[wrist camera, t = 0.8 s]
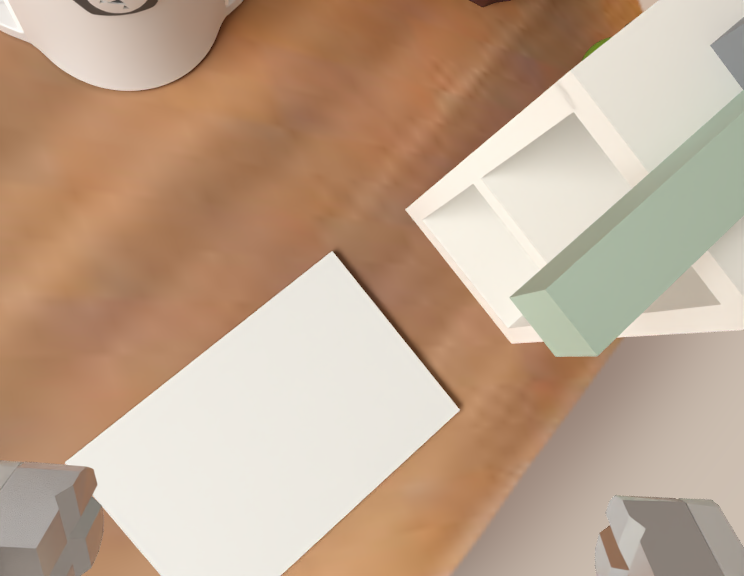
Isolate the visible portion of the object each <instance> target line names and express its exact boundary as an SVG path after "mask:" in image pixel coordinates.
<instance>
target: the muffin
mask: <svg viewBox="0 0 744 576" xmlns="http://www.w3.org/2000/svg"><path fill="white" fill-rule="evenodd" d="M470 1H471V2H473V3H475V4H477V5H479V6H481V7H485V6H487V5H490V4H493V3H496V2H503V1H510V0H470Z"/></svg>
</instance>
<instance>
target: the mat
mask: <svg viewBox="0 0 744 576" xmlns="http://www.w3.org/2000/svg"><path fill="white" fill-rule="evenodd" d="M459 410H460V409H459V408H458V407H457V406H456V404H455V403H454V402H453V401H452V400H451V398H450V397H449V396H448V395H447V393H446V392H445V391H444V390H443V388H442V387H441V386H440V385H439V383H438V382H437V381H436V380H435V378H434V377H433V376H432V375H431V373H430V372H429V371H428V370H427V368H426V367H425V366H424V365H423V363H422V362H421V361H420V360H419V358H418V357H417V356H416V355H415V353H414V352H413V351H412V350H411V348H410V347H409V346H408V345H407V343H406V342H405V341H404V340H403V338H402V337H401V336H400V335H399V334H398V332H397V331H396V330H395V329H394V327H393V326H392V325H391V324H390V322H389V321H388V320H387V319H386V317H385V316H384V315H383V314H382V312H381V311H380V310H379V309H378V307H377V306H376V305H375V304H374V302H373V301H372V300H371V299H370V297H369V296H368V295H367V294H366V292H365V291H364V290H363V289H362V287H361V286H360V285H359V284H358V282H357V281H356V280H355V279H354V277H353V276H352V275H351V274H350V273H349V271H348V270H347V269H346V268H345V266H344V265H343V264H342V263H341V261H340V260H339V259H338V258H337V256H336V255H335V254H334V253H333V251H332V252H330V253H329V254H328V255H327V256H325V257H324V258H323V259H321V260H320V261H319V262H318V263H316V264H315V265H314V266H313V267H311V268H310V269H309V270H308V271H306V272H305V273H304V274H302V275H301V276H300V277H299V278H297V279H296V280H295V281H294V282H292V283H291V284H290V285H289V286H287V287H286V288H285V289H284V290H282V291H281V292H280V293H278V294H277V295H276V296H275V297H273V298H272V299H271V300H270V301H268V302H267V303H266V304H265V305H263V306H262V307H261V308H259V309H258V310H257V311H256V312H254V313H253V314H252V315H251V316H249V317H248V318H247V319H246V320H244V321H243V322H242V323H240V324H239V325H238V326H237V327H235V328H234V329H233V330H232V331H230V332H229V333H228V334H227V335H225V336H224V337H223V338H222V339H220V340H219V341H218V342H216V343H215V344H214V345H213V346H211V347H210V348H209V349H208V350H206V351H205V352H204V353H203V354H201V355H200V356H199V357H197V358H196V359H195V360H194V361H192V362H191V363H190V364H189V365H187V366H186V367H185V368H184V369H182V370H181V371H180V372H179V373H177V374H176V375H175V376H173V377H172V378H171V379H170V380H168V381H167V382H166V383H165V384H163V385H162V386H161V387H160V388H158V389H157V390H156V391H154V392H153V393H152V394H151V395H149V396H148V397H147V398H146V399H144V400H143V401H142V402H141V403H139V404H138V405H137V406H135V407H134V408H133V409H132V410H130V411H129V412H128V413H127V414H125V415H124V416H123V417H122V418H120V419H119V420H118V421H117V422H115V423H114V424H113V425H111V426H110V427H109V428H108V429H106V430H105V431H104V432H103V433H101V434H100V435H99V436H98V437H96V438H95V439H94V440H92V441H91V442H90V443H89V444H87V445H86V446H85V447H84V448H82V449H81V450H80V451H79V452H77V453H76V454H75V455H74V456H72V457H71V458H70V459H68V460H67V461H66V462H65V463H66V464H67V465H74V466H86V467H90V468H92V469H94V472H95V476H96V480H97V484H98V485H97V487H96V489H95V491H94V493H93V496H94V497H95V498H96V500H97V501H98V502H99V503H100V504H101V505H102V507H103V508H104V509H105V510H106V511H107V513H108V514H109V515H110V516H111V517H112V518H113V520H114V521H115V522H116V523H117V524H118V526H119V527H120V528H121V529H122V530H123V531H124V533H125V534H126V535H127V536H128V537H129V538H130V540H131V541H132V542H133V543H134V544H135V546H136V547H137V548H138V549H139V550H140V551H141V553H142V554H143V555H144V556H145V557H146V558H147V560H148V561H149V562H150V563H151V564H152V566H153V567H154V568H155V569H156V570H157V571H158V573H159V574H160V575H161V576H281V575H282V574H283V573H284V572H285V571H286V570H287V569H288V568H289V567H290V566H291V565H293V564H294V563H295V562H296V561H297V560H298V559H299V558H300V557H301V556H302V555H303V554H304V553H306V552H307V551H308V550H309V549H310V548H311V547H312V546H313V545H314V544H315V543H316V542H317V541H319V540H320V539H321V538H322V537H323V536H324V535H325V534H326V533H327V532H328V531H329V530H330V529H332V528H333V527H334V526H335V525H336V524H337V523H338V522H339V521H340V520H341V519H342V518H343V517H345V516H346V515H347V514H348V513H349V512H350V511H351V510H352V509H353V508H354V507H355V506H356V505H358V504H359V503H360V502H361V501H362V500H363V499H364V498H365V497H366V496H367V495H368V494H369V493H371V492H372V491H373V490H374V489H375V488H376V487H377V486H378V485H379V484H380V483H381V482H382V481H384V480H385V479H386V478H387V477H388V476H389V475H390V474H391V473H392V472H393V471H394V470H396V469H397V468H398V467H399V466H400V465H401V464H402V463H403V462H404V461H405V460H406V459H407V458H409V457H410V456H411V455H412V454H413V453H414V452H415V451H416V450H417V449H418V448H419V447H420V446H422V445H423V444H424V443H425V442H426V441H427V440H428V439H429V438H430V437H431V436H432V435H433V434H435V433H436V432H437V431H438V430H439V429H440V428H441V427H442V426H443V425H444V424H445V423H446V422H448V421H449V420H450V419H451V418H452V417H453V416H454V415H455V414H456V413H457V412H458V411H459Z"/></svg>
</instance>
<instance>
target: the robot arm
mask: <svg viewBox="0 0 744 576" xmlns="http://www.w3.org/2000/svg"><path fill="white" fill-rule="evenodd" d="M242 1H243V0H0V30H1V31H3V32H5V33H7V34H9V35H11V36H14V37H16V38H19V39H21V40H24V41H27V42H29V43H31V44H32V45H34V46H35V47H36V48H38V49H39V50H40V51H41V52H42V53H43V54H44V55H46V56H47V57H48V58H49V59H50V60H51V61H52V62H53V63H54V64H56V65H57V66H58V67H59V68H61V69H62V70H64V71H65V72H67V73H68V74H70V75H72V76H73V77H75V78H77V79H79V80H82V81H84V82H86V83H89V84H92V85H95V86H98V87H102V88H107V89H112V90H122V91H137V90H146V89H151V88H156V87H159V86H162V85H165V84H168V83H170V82H173V81H175V80H177V79H179V78H180V77H182V76H184V75H185V74H187V73H188V72H189V71H191V70H192V69H193V68H194V67H196V66H197V65H198V64H199V63H200V62H201V61H202V59H203V58H204V57H205V56H206V54H207V53H208V52H209V50H210V48H211V47H212V45H213V43H214V41H215V39H216V36H217V34H218V31H219V29H220V26H221V24H222V22H223V20H224V19H225V17H226V16H227V15H228V14H230V13H231V12H232V11H233V10H234V9H235V8H236V7H238V6H239V5H240V4H241V2H242ZM97 485H98V484H97V480H96V476H95V472H94V469H92V468H90V467H86V466H74V465H61V464H49V463H37V462H16V461H4V460H0V576H81V575H82V574H84V573H85V572H86V571H88V570H89V569H90V568H92V565H93V563H94V561H95V559H96V556H97V554H98V552H99V549H100V545H101V540H102V536H103V532H104V515H103V510H102V505H101V504H99V503H98V502H97V501H96V500H95V499H94V498H93V497H92V495H93V493H94V491H95V489H96V487H97ZM606 515H607V518H608V520H609V523H610V526H608V527H607V528H606V529H604V530H603V531H602V532H600V533H599V536H598V540H597V544H596V548H595V569H596V574H597V576H744V547H743V545H742V544H741V542H740V540H739V539H738V537H737V535H736V534H735V532H734V530H733V529H732V527H731V525H730V524H729V522H728V520H727V519H726V517H725V515H724V513H723V512H722V510H721V508H720V507H719V505H718V504H716V503H715V502H714V501H713V500H705V499H683V498H679V499H676V498H659V497H638V496H616V495H615V496H614V497H613V498H612V499H611V500H610V502H609V504H608V508H607V510H606Z"/></svg>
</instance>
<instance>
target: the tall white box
mask: <svg viewBox="0 0 744 576" xmlns="http://www.w3.org/2000/svg"><path fill="white" fill-rule="evenodd" d="M743 17H744V0H659V1H657V2H656V3H654V4H653V5H652V6H651V7H650V8H648V9H647V10H646V11H644V12H643V13H642V14H641V15H639V16H638V17H637V18H636V19H634V20H633V21H632V22H631V23H629V24H628V25H627V26H626V27H624V28H623V29H622V30H620V31H619V32H618V33H617V34H615V35H614V36H613V37H612V38H610V39H609V40H608V41H607V42H605V43H604V44H603V45H602V46H600V47H599V48H598V49H597V50H595V51H594V52H593V53H592V54H590V55H589V56H588V57H587V58H585V59H584V60H583V61H581V62H580V63H579V64H578V65H576V66H575V67H574V68H573V69H571V70H570V71H569V72H568V73H567V74H565V75H564V76H563V77H562V78H561V79H559V80H558V81H557V82H556V83H555V84H554V85H552V86H551V87H550V88H549V89H548V90H546V91H545V92H544V93H543V94H542V95H540V96H539V97H538V98H537V99H536V100H535V101H533V102H532V103H531V104H530V105H529V106H527V107H526V108H525V109H524V110H523V111H522V112H520V113H519V114H518V115H517V116H516V117H514V118H513V119H512V120H511V121H510V122H508V123H507V124H506V125H505V126H504V127H503V128H501V129H500V130H499V131H498V132H497V133H495V134H494V135H493V136H492V137H491V138H489V139H488V140H487V141H486V142H485V143H484V144H482V145H481V146H480V147H479V148H478V149H476V150H475V151H474V152H473V153H472V154H470V155H469V156H468V157H467V158H466V159H465V160H463V161H462V162H461V163H460V164H459V165H457V166H456V167H455V168H454V169H453V170H451V171H450V172H449V173H448V174H447V175H446V176H444V177H443V178H442V179H441V180H440V181H438V182H437V183H436V184H435V185H434V186H432V187H431V188H430V189H429V190H428V191H427V192H425V193H424V194H423V195H422V196H421V197H419V198H418V199H417V200H416V201H415V202H413V203H412V204H411V205H410V206H409V207H408V208H406V209H405V210H406V211H407V212H408V214H409V215H410V216H411V217H412V219H413V220H414V221H415V222H416V224H417V225H418V226H419V227H420V229H421V230H422V231H423V233H424V234H425V235H426V236H427V238H428V239H429V240H430V241H431V243H432V244H433V245H434V246H435V248H436V249H437V250H438V251H439V253H440V254H441V255H442V257H443V258H444V259H445V260H446V262H447V263H448V264H449V265H450V267H451V268H452V269H453V270H454V272H455V273H456V274H457V275H458V277H459V278H460V279H461V281H462V282H463V283H464V284H465V286H466V287H467V288H468V289H469V291H470V292H471V293H472V294H473V296H474V297H475V298H476V299H477V301H478V302H479V303H480V305H481V306H482V307H483V308H484V310H485V311H486V312H487V313H488V315H489V316H490V317H491V318H492V320H493V321H494V322H495V323H496V325H497V326H498V327H499V328H500V330H501V331H502V332H503V334H504V335H505V336H506V337H507V339H508V340H509V341H510V342H511V343H529V342H544V341H543V340H542V339H541V338H540V336H539V335H538V334H537V332H536V331H535V330H534V329H533V327H532V326H531V325H530V324H529V322H528V321H527V320H526V318H525V317H524V316H523V315H522V313H521V312H520V311H519V310H518V308H517V307H516V306H515V305H514V303H513V302H512V301H511V299H510V298H509V297H510V296H512V295H513V294H514V293H515V292H516V291H517V290H518V289H519V288H521V287H522V286H523V285H524V284H525V283H526V282H527V281H528V280H530V279H531V278H532V277H533V276H534V275H535V274H536V273H537V272H539V271H540V270H541V269H542V268H543V267H544V266H545V265H547V264H548V263H549V262H550V261H551V260H552V259H553V258H554V257H556V256H557V255H558V254H559V253H560V252H561V251H562V250H563V249H565V248H566V247H567V246H568V245H569V244H570V243H571V242H572V241H574V240H575V239H576V238H577V237H578V236H579V235H580V234H581V233H583V232H584V231H585V230H586V229H587V228H588V227H589V226H590V225H592V224H593V223H594V222H595V221H596V220H597V219H598V218H599V217H601V216H602V215H603V214H604V213H605V212H606V211H607V210H608V209H610V208H611V207H612V206H613V205H614V204H615V203H616V202H617V201H619V200H620V199H621V198H622V197H623V196H624V195H625V194H627V193H628V192H629V191H630V190H631V189H632V188H633V187H634V186H636V185H637V184H638V183H639V182H640V181H641V180H642V179H643V178H645V177H646V176H647V175H648V174H649V173H650V172H651V171H652V170H654V169H655V168H656V167H657V166H658V165H659V164H660V163H661V162H663V161H664V160H665V159H666V158H667V157H668V156H669V155H670V154H672V153H673V152H674V151H675V150H676V149H677V148H678V147H679V146H681V145H682V144H683V143H684V142H685V141H686V140H687V139H688V138H690V137H691V136H692V135H693V134H694V133H695V132H696V131H697V130H699V129H700V128H701V127H702V126H703V125H704V124H705V123H707V122H708V121H709V120H710V119H711V118H712V117H713V116H714V115H716V114H717V113H718V112H719V111H720V110H721V109H722V108H723V107H725V106H726V105H727V104H728V103H729V102H730V101H731V100H732V99H734V98H735V97H736V96H737V95H738V94H739V93H740V92H741V91H743V89H742V88H741V86H740V85H739V84H738V82H737V81H736V80H735V78H734V77H733V76H732V74H731V73H730V72H729V70H728V69H727V68H726V66H725V65H724V64H723V62H722V61H721V60H720V58H719V57H718V56H717V54H716V53H715V52H714V50H713V49H712V47H711V46H710V45H711V44H712V43H713V42H715V41H716V40H717V39H718V38H719V37H720V36H722V35H723V34H724V33H725V32H726V31H728V30H729V29H730V28H731V27H732V26H734V25H735V24H736V23H737V22H738V21H739V20H741V19H742V18H743ZM736 330H744V216H743V217H742V218H741V219H739V220H738V221H737V222H736V223H735V224H734V225H733V226H732V227H731V228H730V229H729V230H728V231H727V232H726V233H725V234H724V235H723V236H722V237H721V238H720V239H719V240H718V241H717V242H716V243H715V244H714V245H712V246H711V247H710V248H709V249H708V250H707V251H706V252H705V253H704V254H703V255H702V256H701V257H700V258H699V259H698V260H697V261H696V262H695V263H694V264H693V265H692V266H691V267H690V268H689V269H688V270H686V271H685V272H684V273H683V274H682V275H681V276H680V277H679V278H678V279H677V280H676V281H675V282H674V283H673V284H672V285H671V286H670V287H669V288H668V289H667V290H666V291H665V292H664V293H663V294H662V295H660V296H659V297H658V298H657V299H656V300H655V301H654V302H653V303H652V304H651V305H650V306H649V307H648V308H647V309H646V310H645V311H644V312H643V313H642V314H641V315H640V316H639V317H638V318H637V319H636V320H635V321H633V322H632V323H631V324H630V325H629V326H628V327H627V328H626V329H625V330H624V331H623V332H622V333H621V334H620V335H619V336H618V337H632V336H649V335H665V334H666V335H667V334H684V333H702V332H719V331H736Z"/></svg>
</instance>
